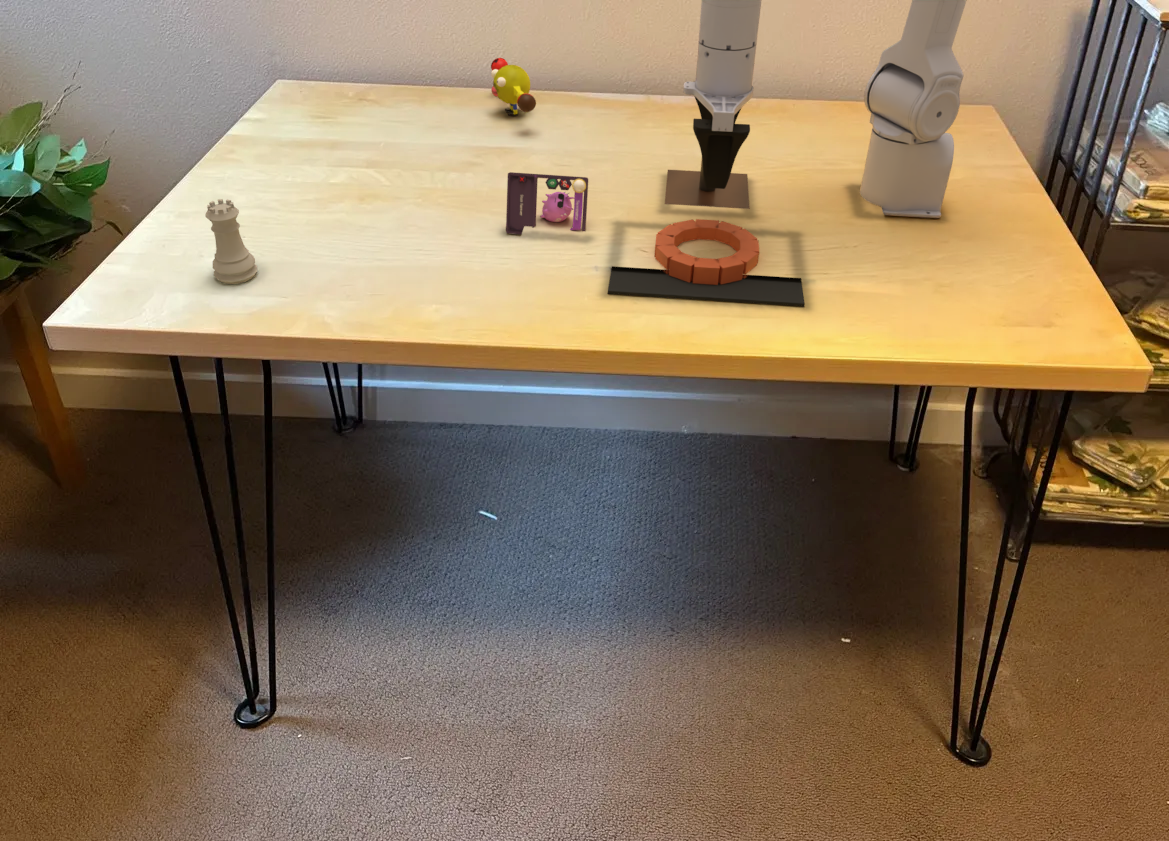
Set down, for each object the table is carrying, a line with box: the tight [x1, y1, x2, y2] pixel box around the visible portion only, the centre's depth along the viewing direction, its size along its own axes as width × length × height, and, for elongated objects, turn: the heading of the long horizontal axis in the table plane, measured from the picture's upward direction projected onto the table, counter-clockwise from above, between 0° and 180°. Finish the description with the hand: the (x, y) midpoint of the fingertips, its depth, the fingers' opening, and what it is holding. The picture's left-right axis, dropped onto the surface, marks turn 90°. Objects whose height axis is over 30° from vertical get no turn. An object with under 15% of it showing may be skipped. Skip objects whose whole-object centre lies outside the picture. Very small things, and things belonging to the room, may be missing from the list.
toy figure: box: [490, 57, 537, 117], centre depth 138 cm, size 18×6×7 cm, turn 17°
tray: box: [607, 265, 806, 308], centre depth 106 cm, size 20×16×1 cm
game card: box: [505, 171, 589, 235], centre depth 111 cm, size 7×5×9 cm
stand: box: [664, 159, 751, 210], centre depth 118 cm, size 10×10×5 cm
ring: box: [654, 218, 760, 285], centre depth 105 cm, size 11×11×2 cm
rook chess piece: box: [205, 198, 258, 285], centre depth 100 cm, size 4×4×8 cm
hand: (715, 171), depth 105 cm, fingers open, 7 cm apart
